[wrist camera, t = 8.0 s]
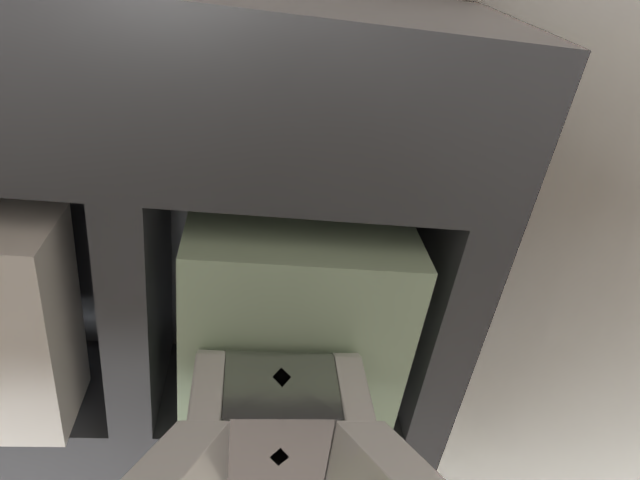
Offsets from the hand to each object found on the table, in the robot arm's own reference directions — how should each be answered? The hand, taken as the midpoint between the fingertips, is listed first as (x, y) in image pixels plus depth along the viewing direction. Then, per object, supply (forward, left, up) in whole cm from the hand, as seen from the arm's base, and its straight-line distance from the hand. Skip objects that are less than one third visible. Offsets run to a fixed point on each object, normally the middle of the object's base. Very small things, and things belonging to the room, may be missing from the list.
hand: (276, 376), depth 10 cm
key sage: (0, 0, -2) cm, 2 cm away
